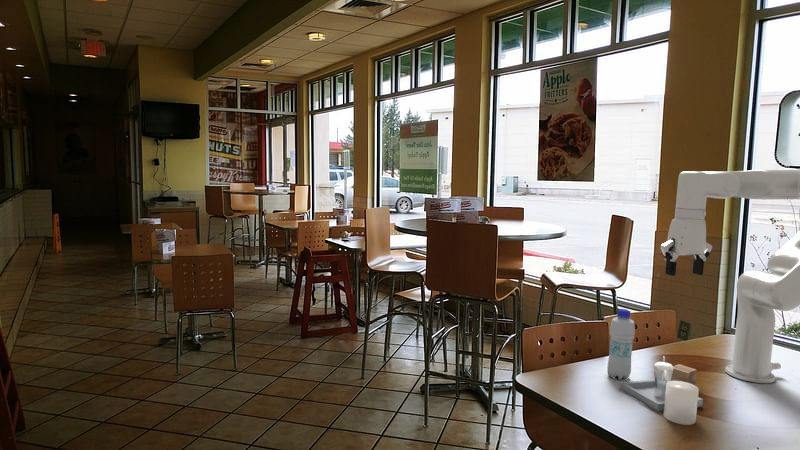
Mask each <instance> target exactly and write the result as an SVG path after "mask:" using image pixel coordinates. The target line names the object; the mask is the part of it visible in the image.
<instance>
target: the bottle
mask: <svg viewBox="0 0 800 450" xmlns="http://www.w3.org/2000/svg"><path fill="white" fill-rule="evenodd" d="M635 328H636V327H635V321H634V320H633V319H631V311H630V310H629V309H626V308H619V309H618V310H617V315H616V317H613V318H612V319H611V324H610V327H609V335H610V339H609V340H610V341H609V351H608V353H609V355H608V362H607V368H606V369H607V375H608V376H609V377H611V378H612V379H616V376H617V378H618V380H619V381H620V380H622V379H623V380H626V381H627V379H629V377H630V375H631V373H632V354H633V342H634V341H633V340H634V339H635V334H636V329H635Z"/></svg>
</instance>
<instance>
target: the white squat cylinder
mask: <svg viewBox="0 0 800 450" xmlns="http://www.w3.org/2000/svg"><path fill="white" fill-rule="evenodd" d="M699 391H700V388H699V387H697V385H696V384H695V385H693V384H690V383H687V382H682V381H668V382H667V383H666V393H665V403H664V411H663V418H665V419H666V420H668V421H669V422H670V421H671V422H673V423H674V424H675V423H676V424H679V425H687V426H690V425H694V424H696V422H697V412H698V407H697V403H698V397H699V395H700V394H699Z"/></svg>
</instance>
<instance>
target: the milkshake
mask: <svg viewBox="0 0 800 450" xmlns="http://www.w3.org/2000/svg"><path fill="white" fill-rule="evenodd" d="M673 366H674V365H673V364H671V363H669V362H666V356H665V355H663V357H662V361H657V362H656V363H654V366H653V370H654V373H653V374H654V379H655V394H654V395H655V396H656V397H658V398H662V399H665V393H666V383H667V382H668V381H671V378H672V373H673Z"/></svg>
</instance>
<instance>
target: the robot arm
mask: <svg viewBox="0 0 800 450" xmlns="http://www.w3.org/2000/svg"><path fill="white" fill-rule="evenodd" d="M676 189H677V190H676V199H675V200H676V202H675V209H674V210H675V211H674V218H673V219H671V222H670V225H669V229H668V233H667V240H666V242H664V243H662V244H661V245H660V247H659V248H660V250H661V255H662V256H663V257H664V260H665V262H666V263H665V272H664V273H665V275H668V276H671V277H675V276H676V274H677V273H676V272H677V265H678V264H677V261H676V260H677V259H678V257H680V256H694V259H693V263H692V264H693V266H692V273H693V275H694V274H695V275H698V276H703V275H704V268H705V267H704V266H705V262H706V261H707V259H708V257H709V256H710V255H711V253H710V252H711V251H712V249H713V245H712V244H710V243H708V242H707V223H706V220H705V217H706V216H707V212H706V207H707V199H708V198H712V199H721V200H722V199H723V200H726V199H730V198H743V199H748V200H749V199H750V200H763V201H765V200H800V169H751V170H737V171H736V170H735V171H732V170H731V171H726V170H725V171H724V170H723V171H722V170H721V171H720V170H719V171H711V170H710V171H708V170H706V171H697V170H694V171H693V170H692V171H689V170H688V171H684V170H683V171H681V172H680V173H679V174H678V179H677V188H676ZM798 212H799V213H798V215H799V217H798V218H800V209H799V211H798ZM766 265H767V266H766V267H767V269H768V271H769V272H768V271H764V270H759V269H752V270H748V271H747V270H746V271H745V272H743V273H742V274H740V276H739V278H738V279H737V280H736V281H737V282H736V297H737V317H736V322H735V323H736V324H735V333H734V343H733V352H732V361H731V364H728V365H727V366H726V365H725V372H726V373H727V374H728V375H730V376H731V377H734V378H736V379H738V380H742V381H746V382H749V383H750V382H751V383H757V384H771V383H774V382H775V381H776V376H775V375H774V374H773V373H772V371H773V370H780V369H781V367H782V365H781V363H780V362H772V353H773V346H774V345H773V343H774V336H775V328H776V314H775V311H774V310H776V311H781V312H789V311H792V310H794V309H797V308H798V307H799V306H800V224H799V226H798V230H797V232H796V233H795V235H794V236H792V237H791V239H789V240H788V241H787V242H785V244H783V246H781V247H780V248H779V249H777V250H776V251H775V252H774V253H773V254H772V255H771V256H770V257H769V259H768V260H767V263H766Z"/></svg>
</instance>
